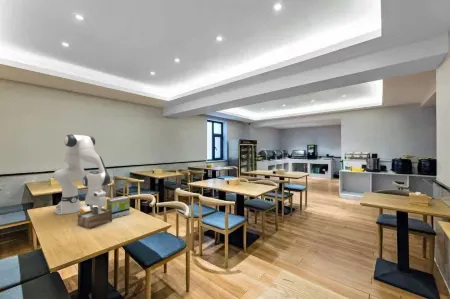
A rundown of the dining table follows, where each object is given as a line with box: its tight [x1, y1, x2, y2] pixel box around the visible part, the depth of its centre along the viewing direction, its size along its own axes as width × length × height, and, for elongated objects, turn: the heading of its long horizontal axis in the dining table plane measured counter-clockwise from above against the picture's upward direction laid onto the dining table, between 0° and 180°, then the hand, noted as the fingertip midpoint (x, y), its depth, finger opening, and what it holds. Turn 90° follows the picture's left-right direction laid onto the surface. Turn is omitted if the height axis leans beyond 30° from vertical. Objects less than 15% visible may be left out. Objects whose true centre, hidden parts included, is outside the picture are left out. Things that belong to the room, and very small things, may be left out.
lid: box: [81, 206, 104, 219], centre depth 152 cm, size 13×13×6 cm
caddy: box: [77, 207, 113, 230], centre depth 152 cm, size 15×16×8 cm
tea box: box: [105, 195, 131, 220], centre depth 169 cm, size 15×10×15 cm, turn 143°
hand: (95, 210), depth 152 cm, fingers open, 8 cm apart
